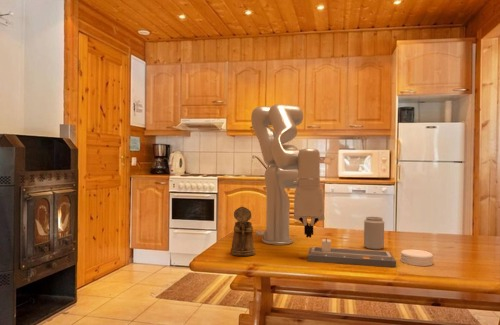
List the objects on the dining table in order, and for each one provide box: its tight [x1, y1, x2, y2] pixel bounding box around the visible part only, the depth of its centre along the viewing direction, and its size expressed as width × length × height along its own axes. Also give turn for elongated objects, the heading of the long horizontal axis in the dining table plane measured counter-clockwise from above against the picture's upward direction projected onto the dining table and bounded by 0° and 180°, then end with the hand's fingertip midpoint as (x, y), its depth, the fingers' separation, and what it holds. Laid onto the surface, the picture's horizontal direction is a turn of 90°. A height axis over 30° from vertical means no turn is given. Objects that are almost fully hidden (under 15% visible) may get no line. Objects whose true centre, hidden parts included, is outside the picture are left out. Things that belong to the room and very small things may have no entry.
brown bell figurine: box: [229, 206, 256, 257], centre depth 134 cm, size 9×14×18 cm, turn 178°
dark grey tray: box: [307, 246, 397, 268], centre depth 130 cm, size 28×12×3 cm, turn 78°
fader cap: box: [321, 237, 332, 252], centre depth 131 cm, size 3×4×4 cm
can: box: [363, 216, 385, 251], centre depth 148 cm, size 8×8×12 cm
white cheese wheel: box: [400, 248, 434, 267], centre depth 128 cm, size 10×10×4 cm
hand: (308, 236), depth 132 cm, fingers closed
